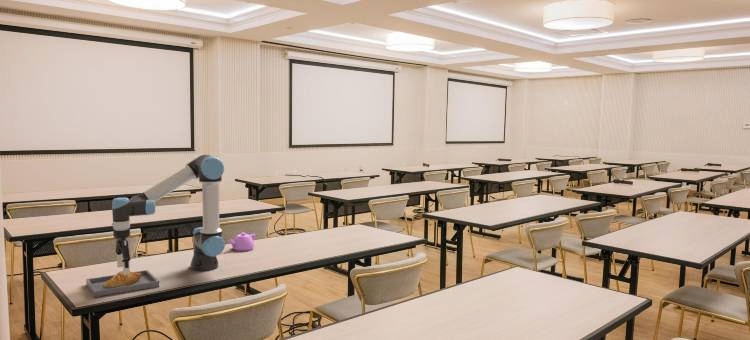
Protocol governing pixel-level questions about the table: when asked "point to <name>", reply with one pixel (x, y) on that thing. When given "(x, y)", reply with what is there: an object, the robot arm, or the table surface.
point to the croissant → (122, 280)
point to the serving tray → (141, 284)
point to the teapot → (243, 242)
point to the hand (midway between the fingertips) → (123, 270)
